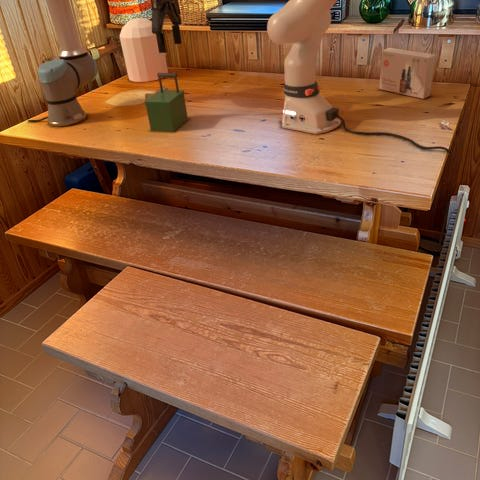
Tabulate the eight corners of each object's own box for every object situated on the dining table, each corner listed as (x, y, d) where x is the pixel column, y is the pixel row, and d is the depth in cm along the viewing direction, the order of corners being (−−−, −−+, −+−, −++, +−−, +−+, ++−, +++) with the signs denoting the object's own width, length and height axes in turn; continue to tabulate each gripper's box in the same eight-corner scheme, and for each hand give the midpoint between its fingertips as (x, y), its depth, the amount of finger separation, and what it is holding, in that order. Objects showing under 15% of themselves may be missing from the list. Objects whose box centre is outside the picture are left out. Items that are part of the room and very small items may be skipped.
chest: (166, 118, 188) (161, 92, 182) (187, 119, 185) (183, 93, 179) (150, 130, 177) (145, 104, 172) (173, 131, 174) (169, 105, 169)
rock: (145, 102, 210) (147, 105, 201) (142, 87, 208) (144, 90, 199) (168, 98, 212) (171, 101, 203) (166, 84, 210) (168, 86, 201)
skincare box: (377, 89, 194) (381, 50, 185) (385, 86, 197) (389, 47, 188) (423, 99, 180) (429, 56, 171) (430, 95, 183) (437, 53, 174)
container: (160, 81, 233) (149, 21, 217) (121, 82, 238) (108, 23, 222) (174, 69, 249) (165, 13, 233) (138, 70, 254) (126, 15, 238)
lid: (162, 92, 182) (158, 71, 178) (184, 92, 179) (181, 71, 175) (145, 104, 172) (140, 81, 167) (168, 104, 169) (165, 82, 164)
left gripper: (154, -12, 150) (165, 56, 162) (184, -22, 169) (192, 40, 181) (133, -11, 152) (146, 56, 164) (166, -21, 171) (175, 40, 183)
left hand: (170, 48), depth 173 cm, fingers open, 13 cm apart
